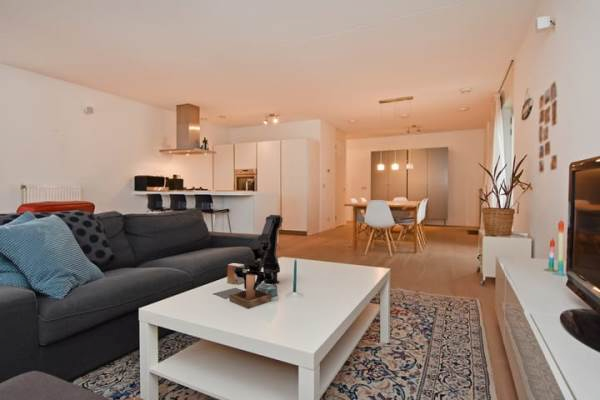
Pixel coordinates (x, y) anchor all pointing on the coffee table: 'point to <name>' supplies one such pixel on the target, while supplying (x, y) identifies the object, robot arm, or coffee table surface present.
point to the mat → (227, 293)
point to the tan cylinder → (250, 287)
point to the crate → (241, 300)
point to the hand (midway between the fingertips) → (249, 289)
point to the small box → (234, 274)
